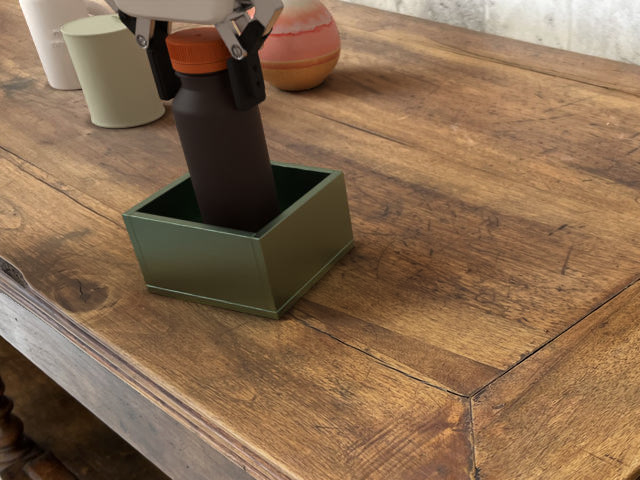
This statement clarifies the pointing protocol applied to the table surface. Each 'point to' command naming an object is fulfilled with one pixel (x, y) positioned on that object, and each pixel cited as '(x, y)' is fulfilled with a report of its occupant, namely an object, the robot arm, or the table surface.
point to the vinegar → (220, 136)
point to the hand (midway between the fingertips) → (213, 98)
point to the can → (112, 72)
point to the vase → (300, 46)
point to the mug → (57, 35)
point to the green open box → (244, 243)
